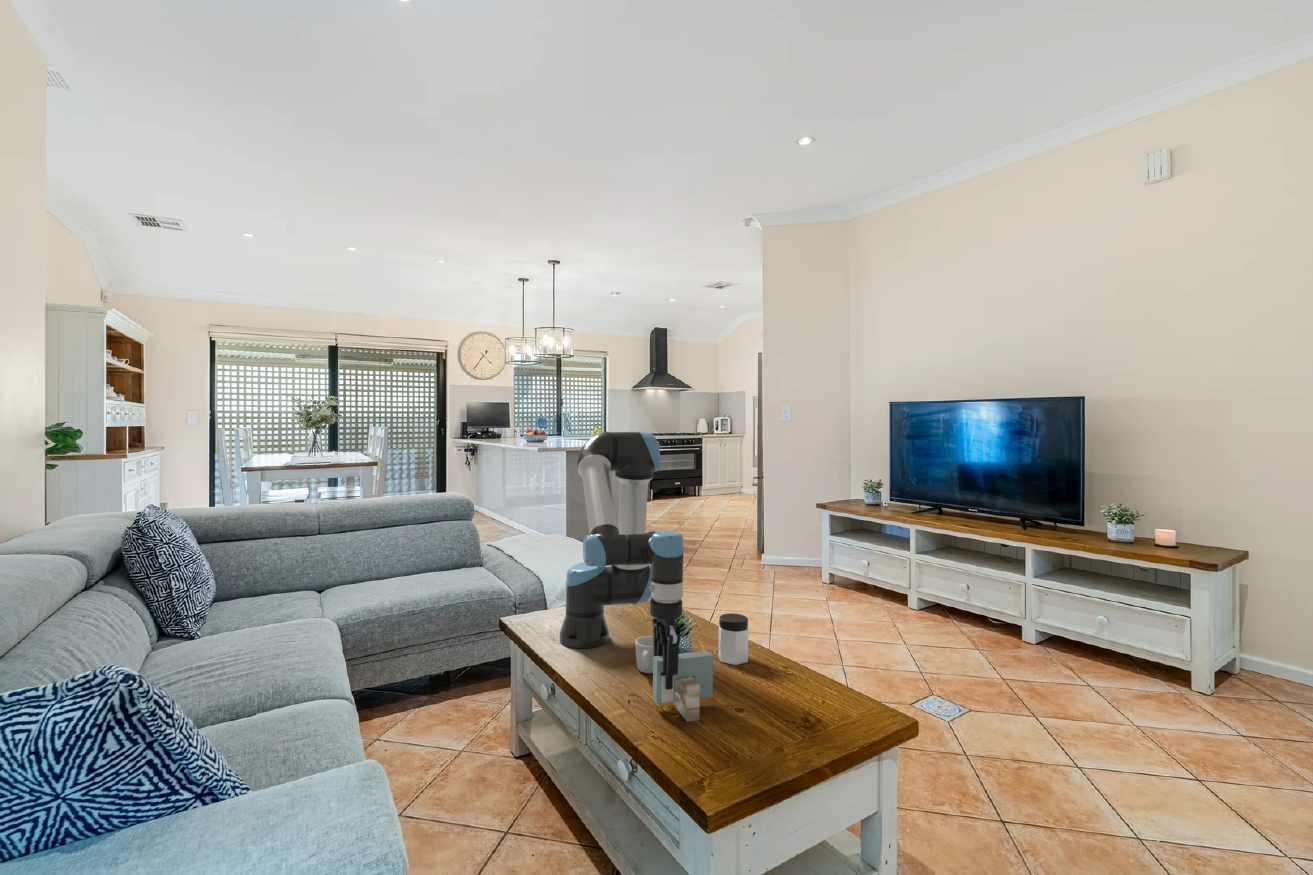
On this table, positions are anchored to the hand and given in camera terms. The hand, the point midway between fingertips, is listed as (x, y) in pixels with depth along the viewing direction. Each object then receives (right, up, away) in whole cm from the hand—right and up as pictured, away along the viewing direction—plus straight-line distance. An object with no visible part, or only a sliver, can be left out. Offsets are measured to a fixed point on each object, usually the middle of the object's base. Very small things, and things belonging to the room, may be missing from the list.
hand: (664, 697), depth 141 cm
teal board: (+4, -1, +1) cm, 5 cm away
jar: (+20, -3, +31) cm, 37 cm away
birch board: (+4, -3, +2) cm, 5 cm away
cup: (-4, -2, +21) cm, 21 cm away
